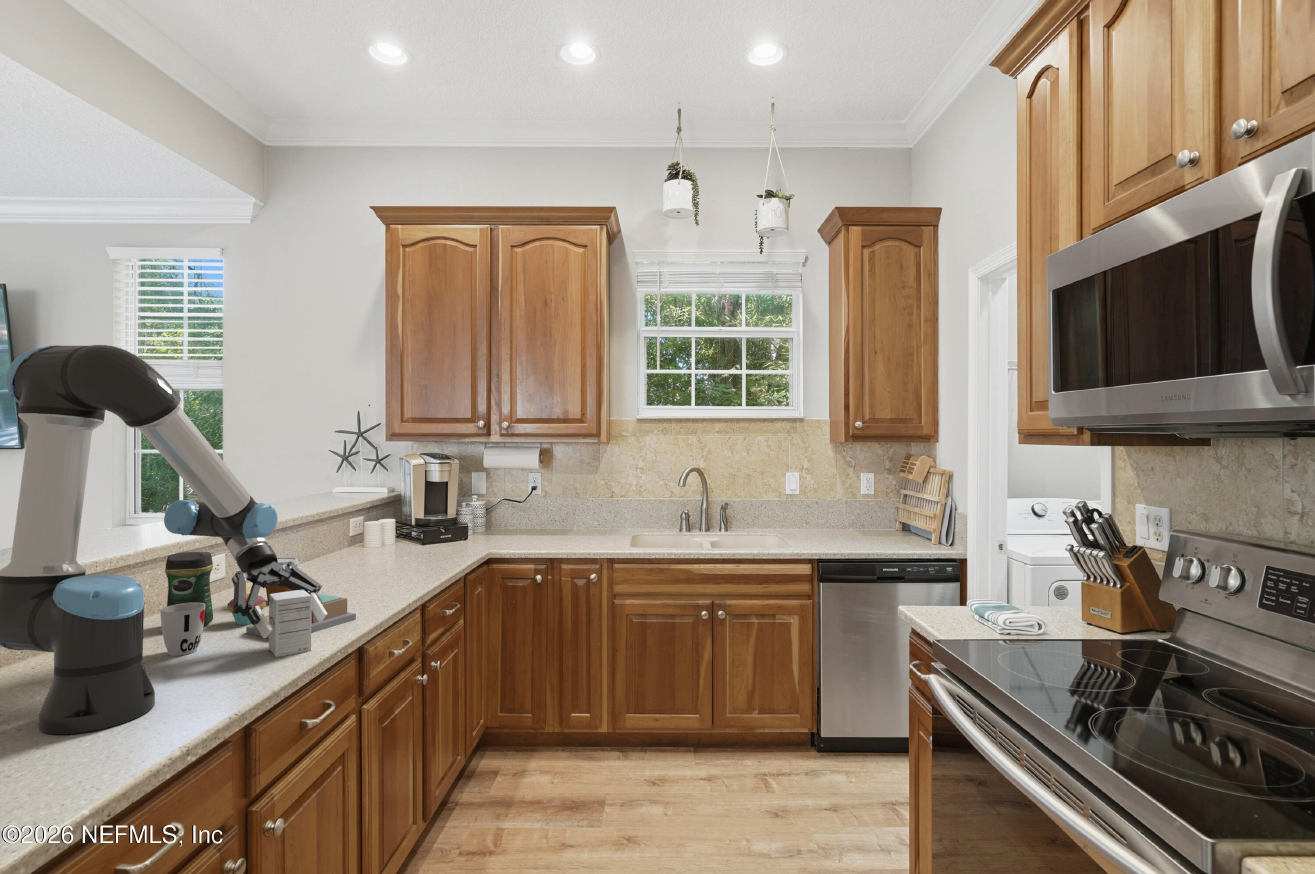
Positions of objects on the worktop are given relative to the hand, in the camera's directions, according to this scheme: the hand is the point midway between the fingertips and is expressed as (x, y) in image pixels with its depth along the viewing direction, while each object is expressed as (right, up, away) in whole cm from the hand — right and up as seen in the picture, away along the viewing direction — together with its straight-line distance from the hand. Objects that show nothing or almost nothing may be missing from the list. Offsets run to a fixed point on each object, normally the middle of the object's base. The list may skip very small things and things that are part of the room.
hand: (296, 625), depth 146 cm
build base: (-9, -6, +19) cm, 22 cm away
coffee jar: (-38, -6, +19) cm, 43 cm away
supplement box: (-2, -6, +1) cm, 6 cm away
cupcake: (-25, -6, +22) cm, 34 cm away
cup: (-25, -6, -1) cm, 25 cm away
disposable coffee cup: (-29, -6, +44) cm, 53 cm away
